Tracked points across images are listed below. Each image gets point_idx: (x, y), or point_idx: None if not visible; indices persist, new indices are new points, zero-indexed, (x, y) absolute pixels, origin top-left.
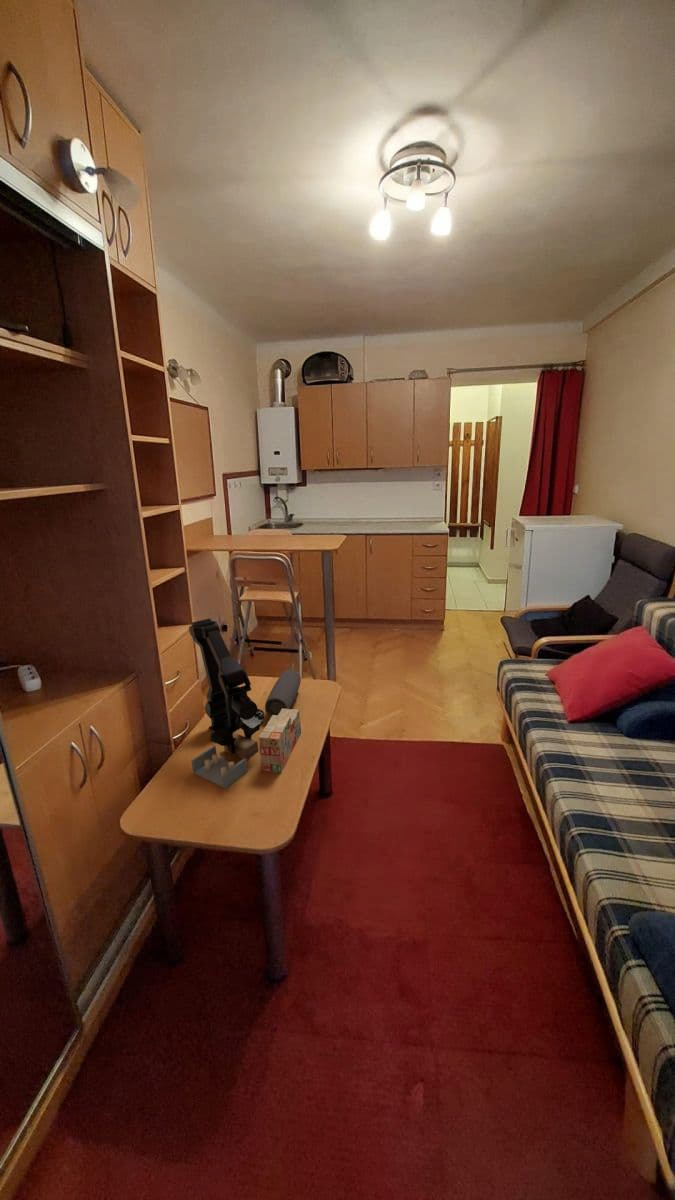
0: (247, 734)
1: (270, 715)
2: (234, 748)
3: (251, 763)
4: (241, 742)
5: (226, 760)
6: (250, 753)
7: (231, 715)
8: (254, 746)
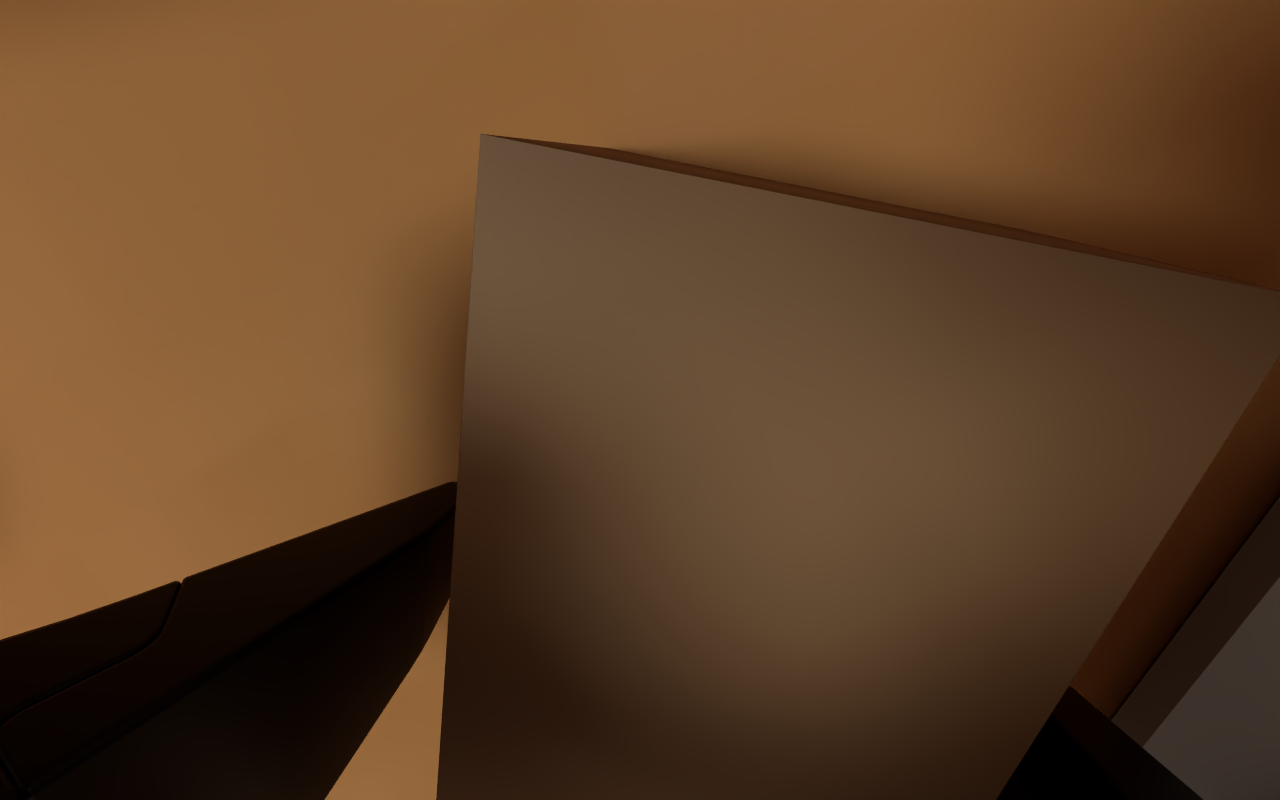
0: (320, 696)
1: None
2: (1114, 778)
3: (1209, 15)
4: (764, 705)
5: (1202, 686)
6: (934, 214)
7: None
8: (711, 175)
